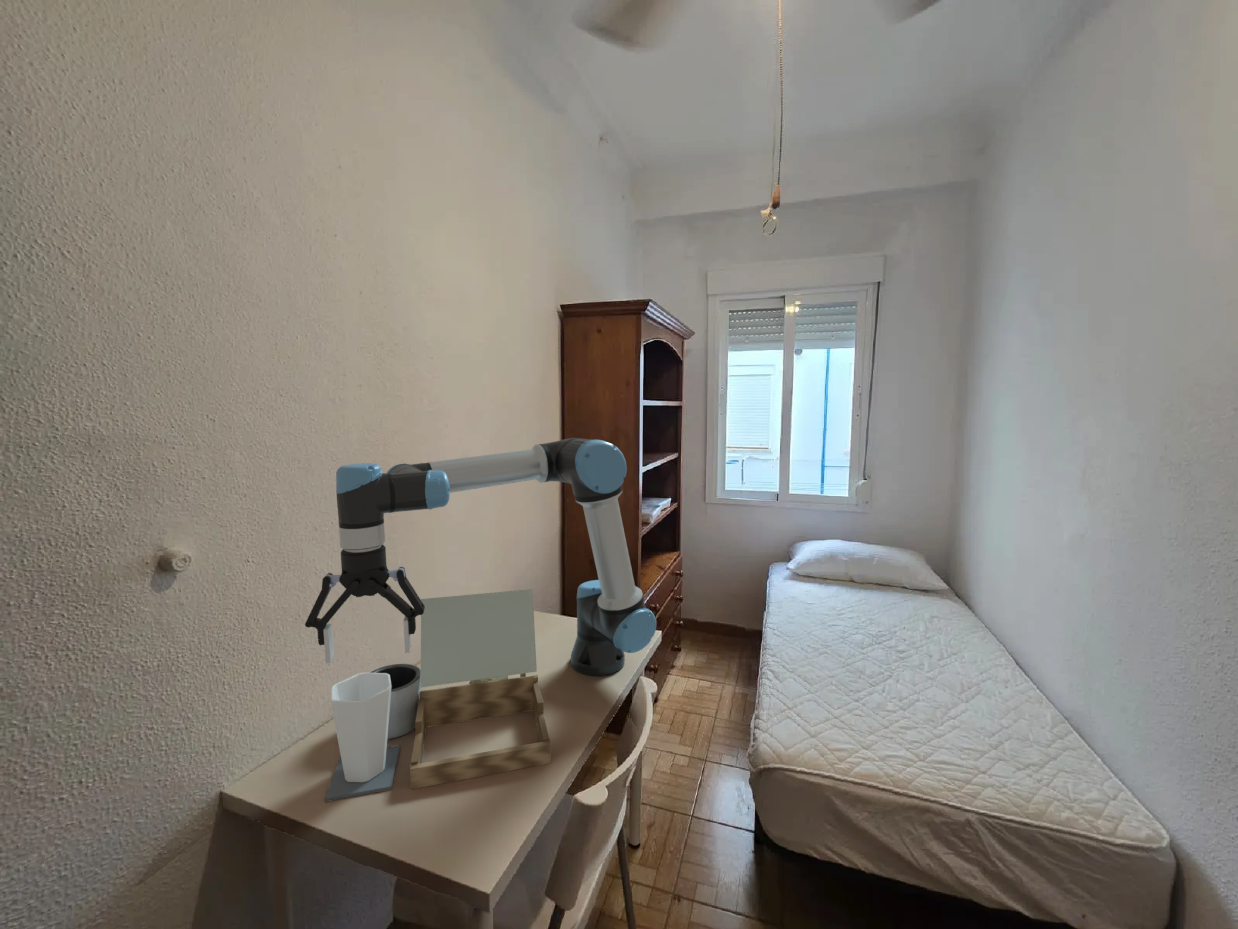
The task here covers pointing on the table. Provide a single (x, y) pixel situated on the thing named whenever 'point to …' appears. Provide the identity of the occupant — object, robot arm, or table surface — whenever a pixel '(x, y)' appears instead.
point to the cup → (362, 723)
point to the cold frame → (471, 706)
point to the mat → (349, 789)
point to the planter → (402, 697)
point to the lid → (477, 637)
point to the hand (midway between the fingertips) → (369, 655)
